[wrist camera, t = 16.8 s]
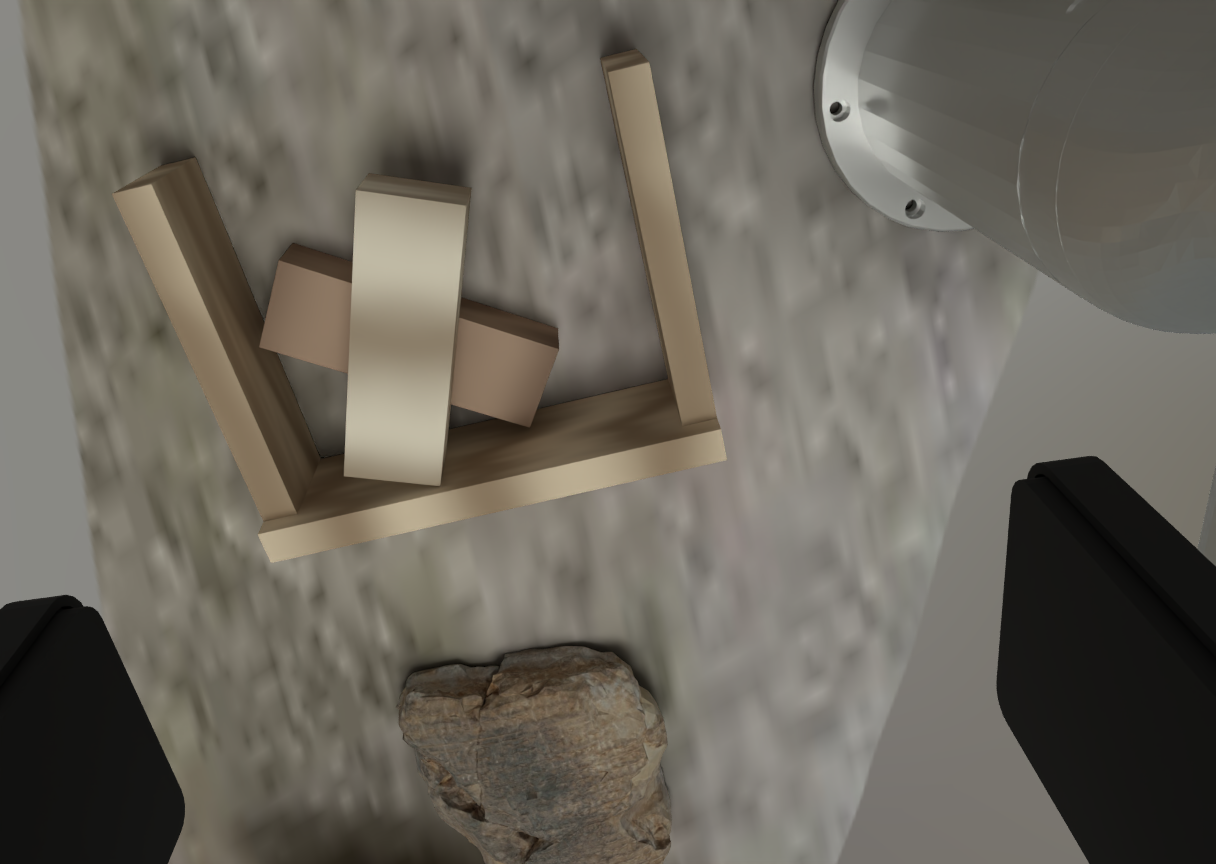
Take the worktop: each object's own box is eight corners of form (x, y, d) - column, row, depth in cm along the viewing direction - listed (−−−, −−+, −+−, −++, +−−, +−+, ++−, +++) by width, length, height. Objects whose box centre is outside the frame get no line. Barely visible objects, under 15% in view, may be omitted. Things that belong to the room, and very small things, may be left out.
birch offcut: (446, 453, 43) (440, 486, 41) (356, 443, 43) (343, 476, 40) (471, 188, 38) (466, 205, 35) (368, 173, 37) (355, 190, 35)
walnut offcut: (557, 324, 44) (558, 349, 41) (530, 399, 46) (529, 427, 43) (295, 239, 41) (278, 260, 39) (276, 322, 43) (259, 347, 40)
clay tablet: (692, 866, 61) (648, 623, 51) (702, 938, 57) (655, 687, 47) (476, 897, 61) (392, 663, 52) (469, 971, 57) (377, 730, 48)
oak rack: (636, 48, 38) (652, 65, 33) (704, 399, 46) (726, 460, 40) (160, 166, 39) (100, 200, 34) (302, 492, 46) (271, 562, 41)
